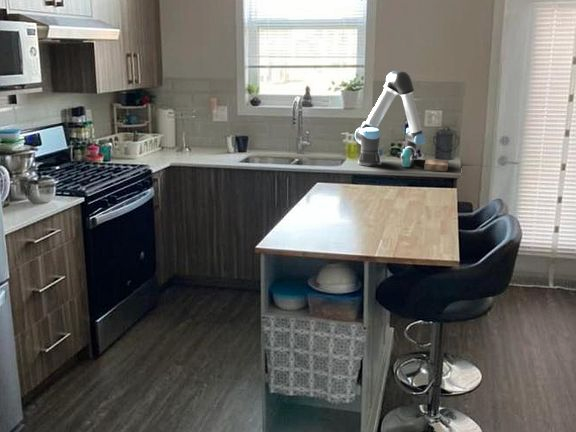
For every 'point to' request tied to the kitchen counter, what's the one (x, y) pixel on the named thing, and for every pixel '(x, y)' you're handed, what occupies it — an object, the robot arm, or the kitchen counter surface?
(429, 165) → the walnut base
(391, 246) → the kitchen counter surface
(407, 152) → the teal jar
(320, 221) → the kitchen counter surface
